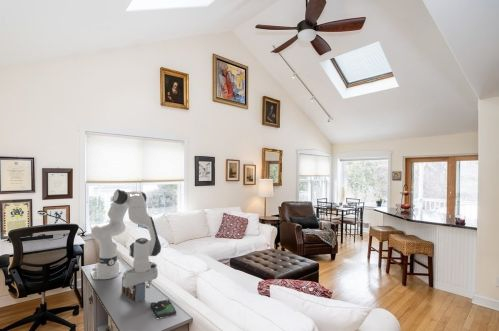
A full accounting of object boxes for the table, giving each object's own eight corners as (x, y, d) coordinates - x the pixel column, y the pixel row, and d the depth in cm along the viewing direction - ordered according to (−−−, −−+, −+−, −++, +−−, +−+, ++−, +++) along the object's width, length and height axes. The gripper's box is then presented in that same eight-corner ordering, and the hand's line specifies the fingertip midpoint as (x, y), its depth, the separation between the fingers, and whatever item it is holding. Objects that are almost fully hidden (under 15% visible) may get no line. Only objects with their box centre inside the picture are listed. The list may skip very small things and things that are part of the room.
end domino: (144, 299, 159) (145, 282, 159) (136, 302, 155) (137, 285, 156) (143, 298, 160) (143, 282, 161) (135, 301, 156) (135, 284, 157)
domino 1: (121, 292, 168) (122, 276, 168) (129, 290, 171) (130, 274, 172) (123, 293, 167) (123, 277, 167) (130, 291, 170) (131, 275, 171)
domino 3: (128, 297, 162) (128, 280, 162) (136, 294, 166) (136, 278, 166) (129, 298, 161) (130, 281, 161) (137, 295, 165) (138, 279, 165)
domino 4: (131, 299, 159) (132, 282, 159) (139, 296, 163) (140, 280, 163) (133, 300, 158) (133, 283, 158) (141, 297, 162) (141, 280, 162)
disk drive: (150, 308, 150) (156, 320, 138) (150, 303, 151) (156, 314, 138) (168, 303, 156) (176, 314, 144) (168, 298, 156) (176, 309, 144)
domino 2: (124, 295, 165) (125, 278, 165) (132, 292, 169) (133, 276, 169) (126, 295, 164) (126, 279, 164) (134, 293, 167) (134, 277, 168)
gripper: (126, 272, 148) (125, 297, 148) (159, 263, 164) (158, 286, 163) (121, 269, 152) (120, 294, 152) (153, 261, 168) (153, 283, 168)
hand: (140, 290), depth 158 cm, fingers open, 8 cm apart
